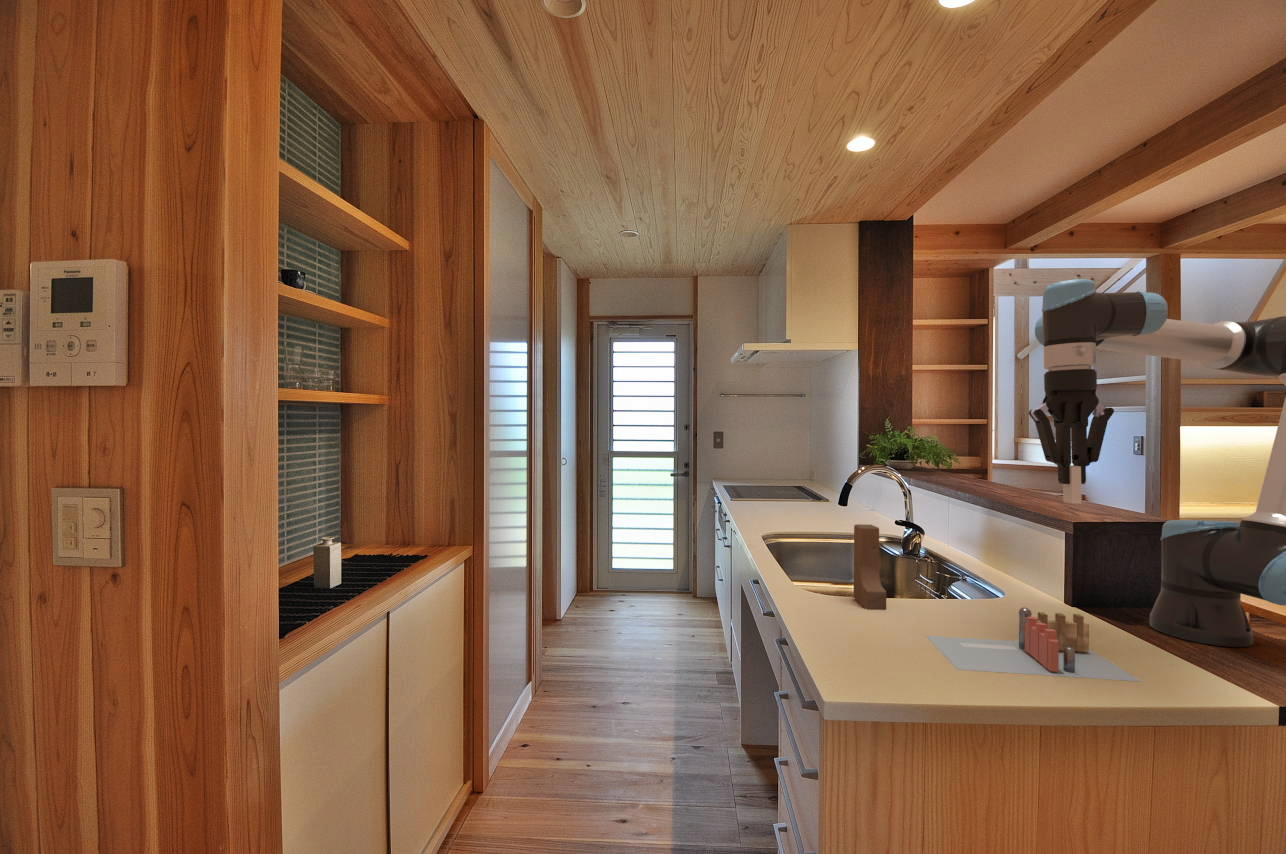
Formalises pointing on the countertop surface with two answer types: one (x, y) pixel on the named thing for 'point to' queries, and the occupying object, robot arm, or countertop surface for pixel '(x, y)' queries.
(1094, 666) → the card
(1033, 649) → the fence panel
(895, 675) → the countertop surface
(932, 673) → the countertop surface
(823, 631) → the countertop surface
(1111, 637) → the countertop surface
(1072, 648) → the peg
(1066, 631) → the fence fixed
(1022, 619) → the post
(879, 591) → the wooden block
